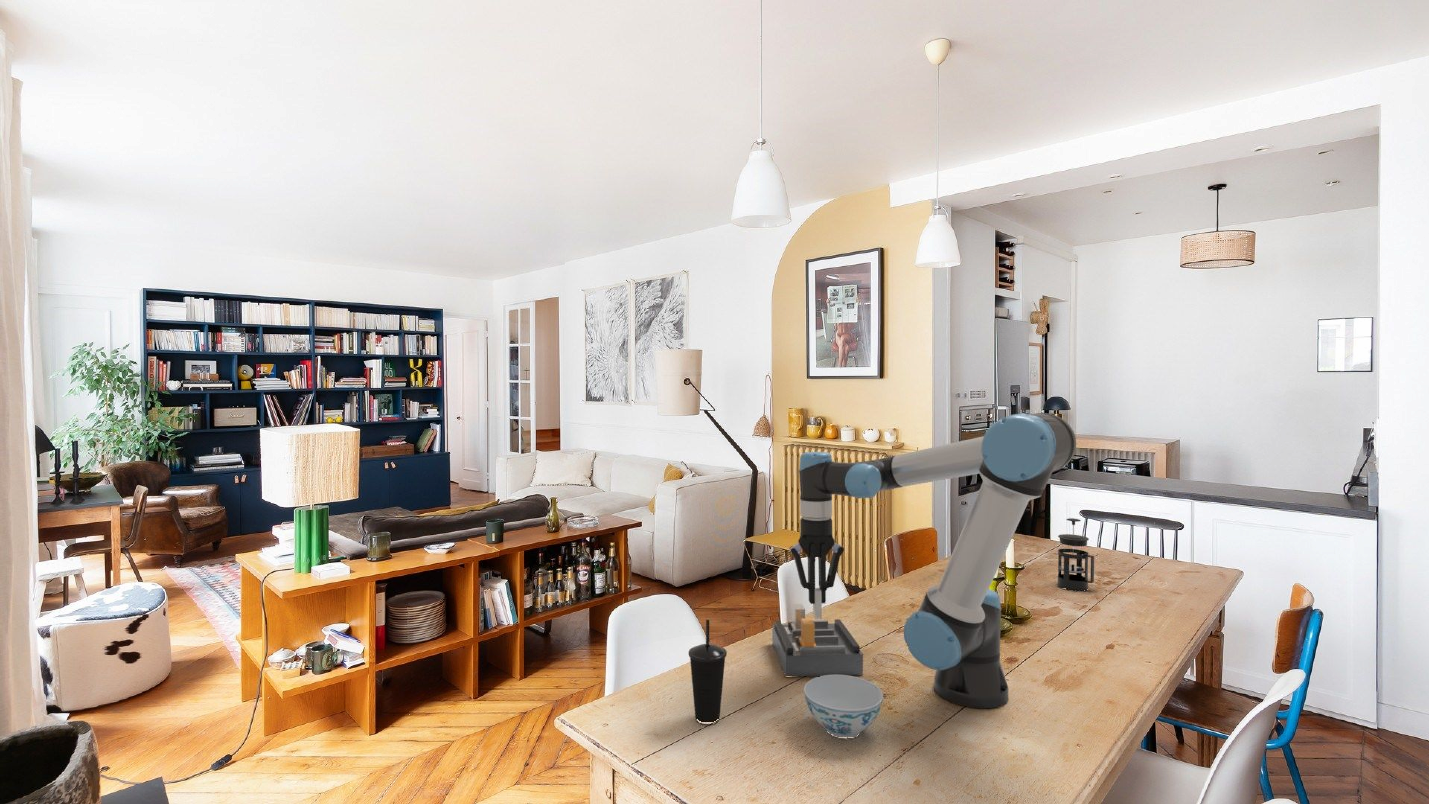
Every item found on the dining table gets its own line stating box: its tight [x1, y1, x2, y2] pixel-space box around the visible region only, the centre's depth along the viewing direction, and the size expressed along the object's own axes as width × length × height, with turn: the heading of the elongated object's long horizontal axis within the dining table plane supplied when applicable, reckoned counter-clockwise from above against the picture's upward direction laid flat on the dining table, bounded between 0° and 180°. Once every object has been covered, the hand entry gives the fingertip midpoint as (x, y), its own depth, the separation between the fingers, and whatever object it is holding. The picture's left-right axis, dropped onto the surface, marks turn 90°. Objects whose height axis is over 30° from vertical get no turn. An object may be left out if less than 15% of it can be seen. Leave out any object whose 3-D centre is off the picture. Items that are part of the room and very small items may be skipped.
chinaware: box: [803, 675, 884, 738], centre depth 129 cm, size 15×15×8 cm
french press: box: [1056, 517, 1095, 592], centre depth 221 cm, size 12×9×23 cm
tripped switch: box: [799, 617, 816, 646], centre depth 158 cm, size 5×3×6 cm
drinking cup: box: [688, 619, 728, 722], centre depth 133 cm, size 8×8×20 cm
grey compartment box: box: [771, 603, 864, 676], centre depth 163 cm, size 20×18×11 cm
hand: (817, 616), depth 157 cm, fingers closed
